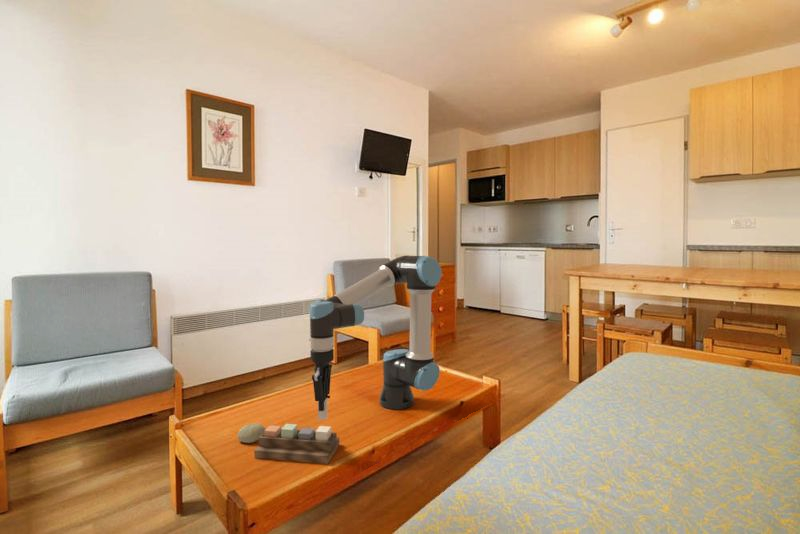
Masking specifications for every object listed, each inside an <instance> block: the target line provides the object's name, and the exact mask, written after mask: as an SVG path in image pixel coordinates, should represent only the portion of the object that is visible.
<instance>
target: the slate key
mask: <svg viewBox="0 0 800 534" xmlns="http://www.w3.org/2000/svg"><path fill="white" fill-rule="evenodd" d="M300 430H301V431H300V432H299V433H298V439H302V440H311V439H312V438H313V437H314V431H315V428H314V427H302V428H301V429H300Z"/></svg>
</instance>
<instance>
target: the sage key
mask: <svg viewBox="0 0 800 534" xmlns="http://www.w3.org/2000/svg"><path fill="white" fill-rule="evenodd" d="M297 430H298V424H295V423H285V424H284V426H282V427H281V438H289V439H294V438H295V437H296V435H297V434H298V433H297Z"/></svg>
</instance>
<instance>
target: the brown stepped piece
mask: <svg viewBox="0 0 800 534" xmlns="http://www.w3.org/2000/svg"><path fill="white" fill-rule="evenodd" d="M300 431H301V429H297V433H299V432H300ZM339 446H340V437H337V432H333V431H331V438H330V439H329V441H316V430H314V437H313V438H312V439H311V440H302V439H298V434H297V435H296V437H295V438H294V439H289V438H281V433H280V434H279V435H278V437H277V438H275V437H264V433H263V434H262V435H261V436H259V437H258V446H257V447H256V448H255V449H254V451H253V452H254V458H255V459H264V460H265V459H267V460H280V461H291V462H303V463H313V464H314V463H315V464H316V463H317V464H327V465H328V464H329V463H330V461H331V459H332V457H333V456H334V454H335V453H336V451H337V449H338V448H339Z"/></svg>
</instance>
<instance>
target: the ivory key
mask: <svg viewBox="0 0 800 534" xmlns="http://www.w3.org/2000/svg"><path fill="white" fill-rule="evenodd" d="M315 431H316V441H329V439H330V438H331V432H332V426H326V425H319V426H318V427H317V429H316V430H315Z"/></svg>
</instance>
